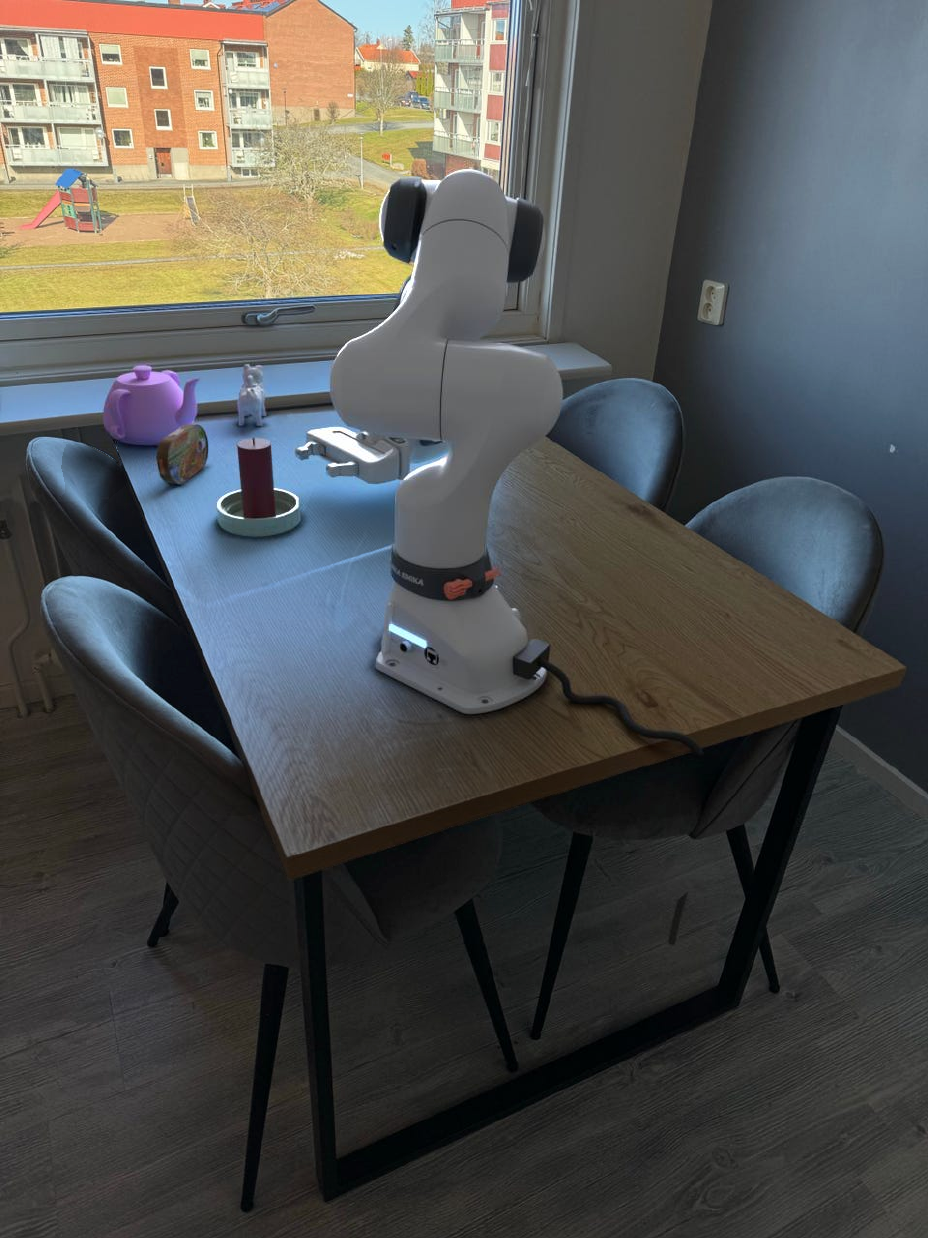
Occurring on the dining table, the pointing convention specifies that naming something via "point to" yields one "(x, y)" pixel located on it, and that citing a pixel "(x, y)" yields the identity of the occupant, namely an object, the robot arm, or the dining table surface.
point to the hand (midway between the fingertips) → (312, 462)
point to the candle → (256, 478)
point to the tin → (182, 454)
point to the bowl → (237, 524)
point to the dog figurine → (251, 395)
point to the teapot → (148, 406)
